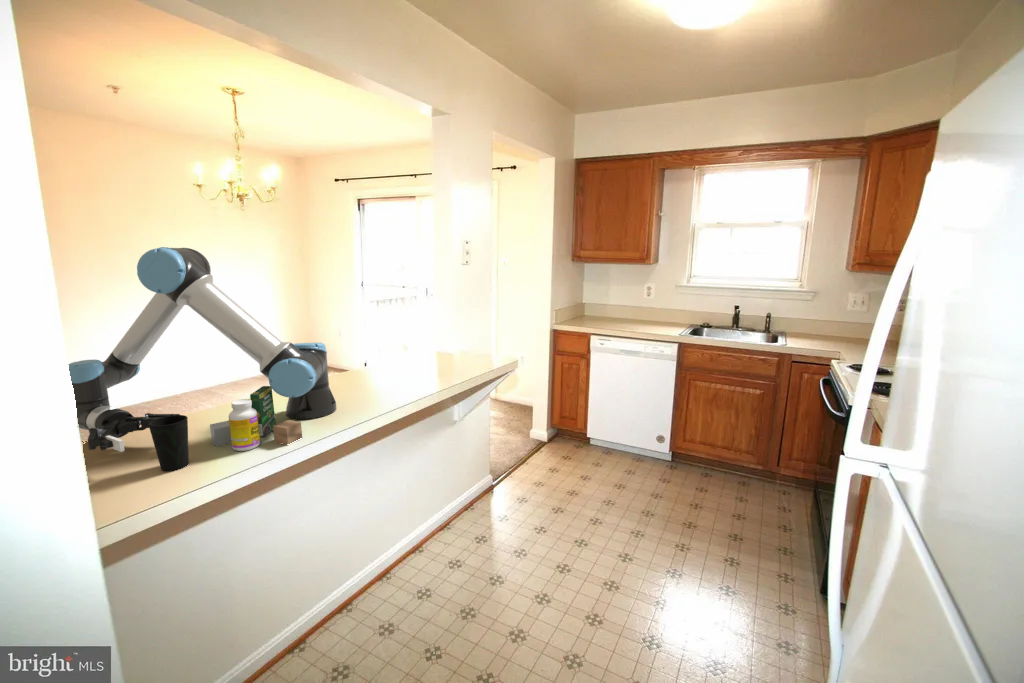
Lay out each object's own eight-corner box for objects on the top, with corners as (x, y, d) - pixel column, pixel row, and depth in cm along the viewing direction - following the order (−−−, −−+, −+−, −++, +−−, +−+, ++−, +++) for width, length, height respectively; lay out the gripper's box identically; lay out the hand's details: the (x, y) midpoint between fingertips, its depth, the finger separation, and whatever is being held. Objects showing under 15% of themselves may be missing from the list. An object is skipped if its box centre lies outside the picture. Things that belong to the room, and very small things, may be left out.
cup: (200, 459, 119) (194, 414, 117) (180, 473, 112) (173, 425, 110) (169, 459, 119) (163, 415, 117) (148, 473, 112) (140, 426, 109)
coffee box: (264, 438, 133) (259, 393, 130) (253, 438, 133) (248, 393, 130) (277, 427, 141) (272, 385, 138) (267, 427, 141) (262, 385, 138)
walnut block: (289, 436, 134) (287, 419, 133) (302, 438, 132) (300, 422, 131) (274, 442, 130) (272, 425, 129) (288, 445, 128) (286, 428, 127)
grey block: (232, 436, 134) (230, 420, 133) (236, 441, 131) (234, 424, 130) (211, 441, 131) (209, 424, 130) (216, 446, 127) (213, 429, 126)
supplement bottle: (255, 451, 124) (249, 404, 122) (228, 452, 123) (222, 406, 121) (264, 441, 131) (259, 397, 128) (238, 442, 130) (233, 398, 127)
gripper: (164, 420, 138) (207, 432, 128) (53, 452, 116) (95, 470, 107) (160, 396, 136) (203, 406, 127) (47, 424, 115) (89, 439, 105)
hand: (154, 435), depth 117 cm, fingers open, 13 cm apart
